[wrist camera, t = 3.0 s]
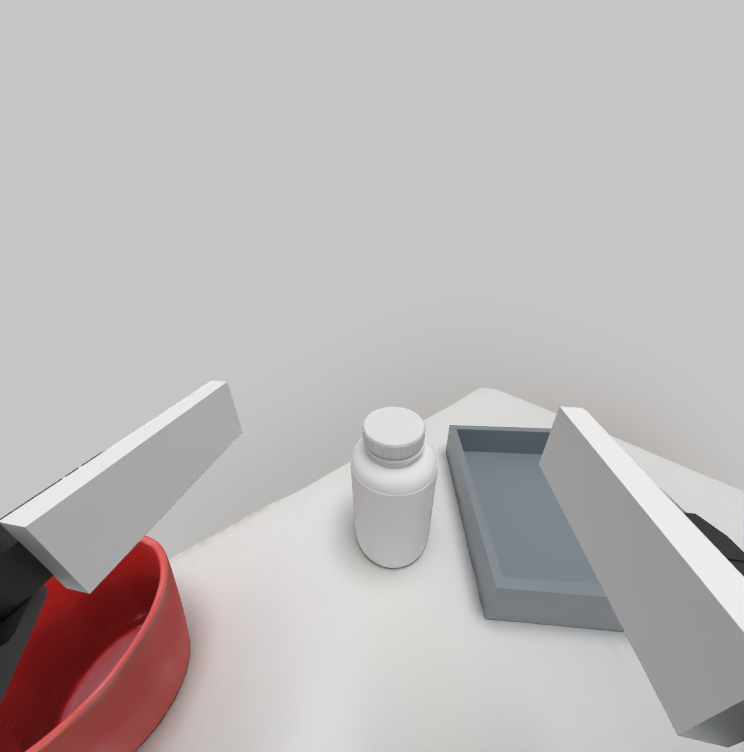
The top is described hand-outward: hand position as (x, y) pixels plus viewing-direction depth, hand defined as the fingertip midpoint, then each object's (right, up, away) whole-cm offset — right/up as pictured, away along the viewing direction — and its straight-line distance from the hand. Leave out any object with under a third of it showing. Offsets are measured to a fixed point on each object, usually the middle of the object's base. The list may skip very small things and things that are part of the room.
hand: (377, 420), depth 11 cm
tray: (+20, -14, +20) cm, 32 cm away
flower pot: (-18, -21, +9) cm, 29 cm away
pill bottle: (+2, -16, +19) cm, 24 cm away
